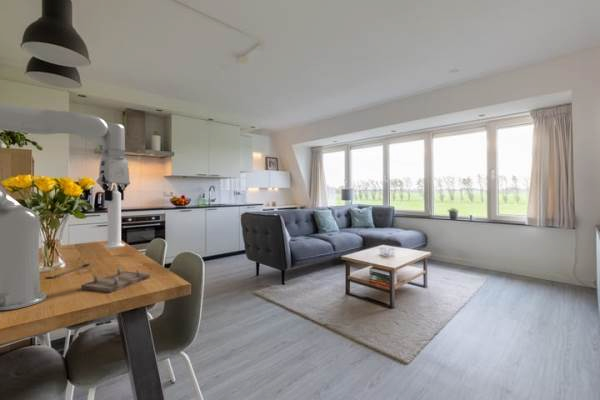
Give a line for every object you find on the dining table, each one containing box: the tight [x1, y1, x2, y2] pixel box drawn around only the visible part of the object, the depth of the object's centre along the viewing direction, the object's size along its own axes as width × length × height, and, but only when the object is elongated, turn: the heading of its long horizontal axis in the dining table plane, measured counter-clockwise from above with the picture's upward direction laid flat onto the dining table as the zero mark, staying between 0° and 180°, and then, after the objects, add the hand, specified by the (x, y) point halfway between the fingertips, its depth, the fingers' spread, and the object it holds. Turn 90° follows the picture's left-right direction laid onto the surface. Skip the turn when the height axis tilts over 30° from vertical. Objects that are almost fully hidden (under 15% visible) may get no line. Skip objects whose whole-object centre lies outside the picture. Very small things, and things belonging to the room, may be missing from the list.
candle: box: [103, 184, 126, 249], centre depth 111 cm, size 7×7×25 cm
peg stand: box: [80, 267, 151, 294], centre depth 110 cm, size 18×14×4 cm
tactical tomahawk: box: [45, 263, 91, 280], centre depth 125 cm, size 21×7×1 cm, turn 176°
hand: (114, 199), depth 111 cm, fingers closed on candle, 4 cm apart
